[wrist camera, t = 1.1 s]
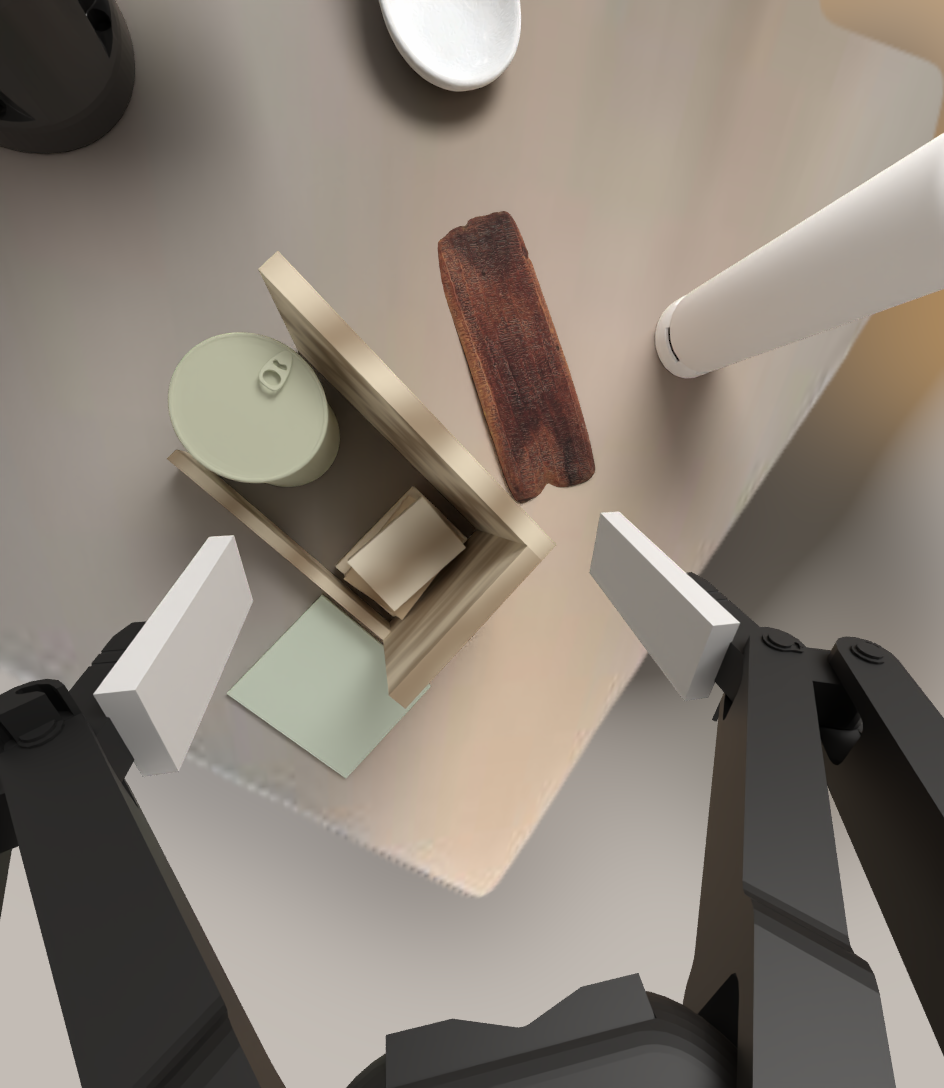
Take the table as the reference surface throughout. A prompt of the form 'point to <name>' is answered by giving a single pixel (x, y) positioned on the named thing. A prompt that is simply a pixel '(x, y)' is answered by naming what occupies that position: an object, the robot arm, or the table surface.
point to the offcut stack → (402, 553)
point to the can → (253, 411)
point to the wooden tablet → (514, 356)
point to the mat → (324, 688)
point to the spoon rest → (455, 38)
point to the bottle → (818, 271)
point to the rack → (382, 398)
